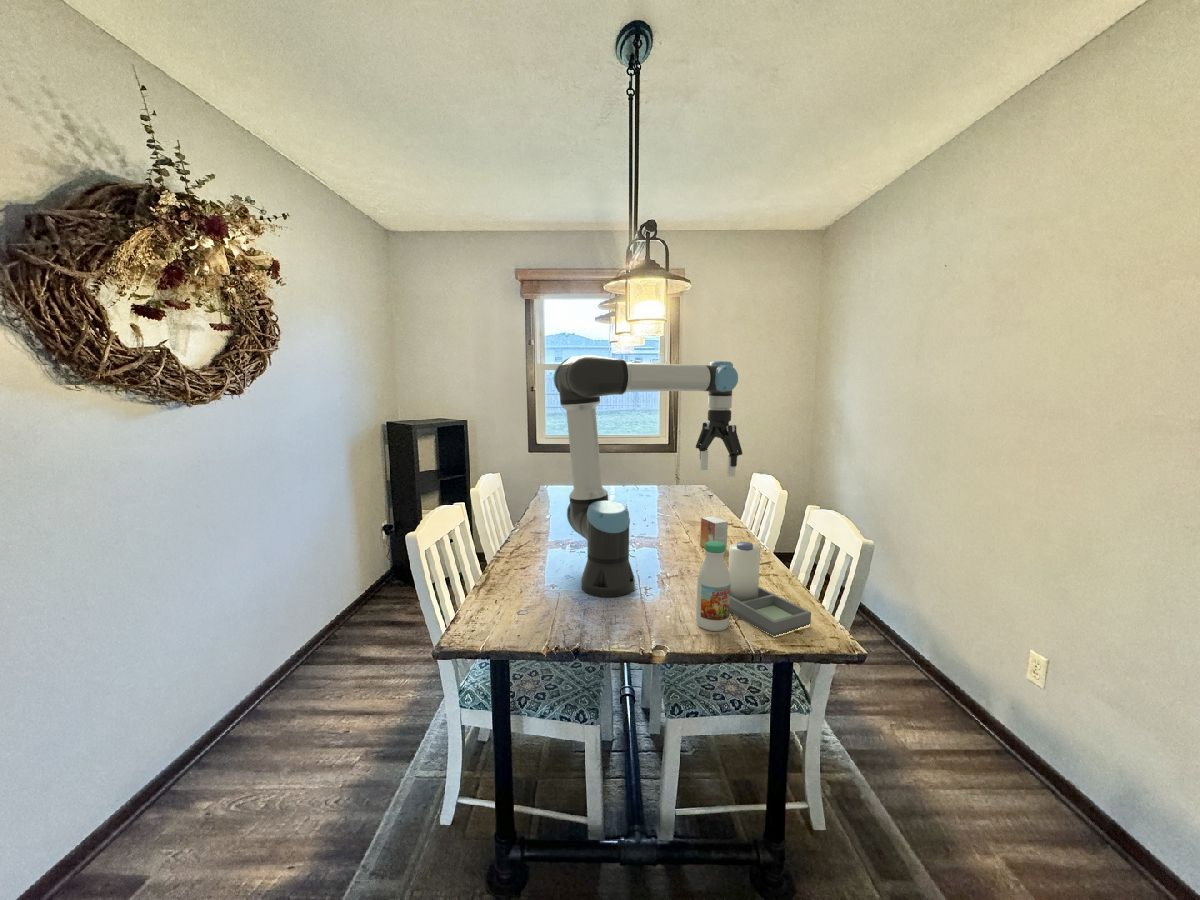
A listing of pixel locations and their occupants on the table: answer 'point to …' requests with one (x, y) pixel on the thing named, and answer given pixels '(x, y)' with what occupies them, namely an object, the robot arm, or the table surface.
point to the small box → (713, 530)
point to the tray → (771, 613)
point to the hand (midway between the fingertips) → (716, 473)
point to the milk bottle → (713, 589)
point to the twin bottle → (744, 570)
